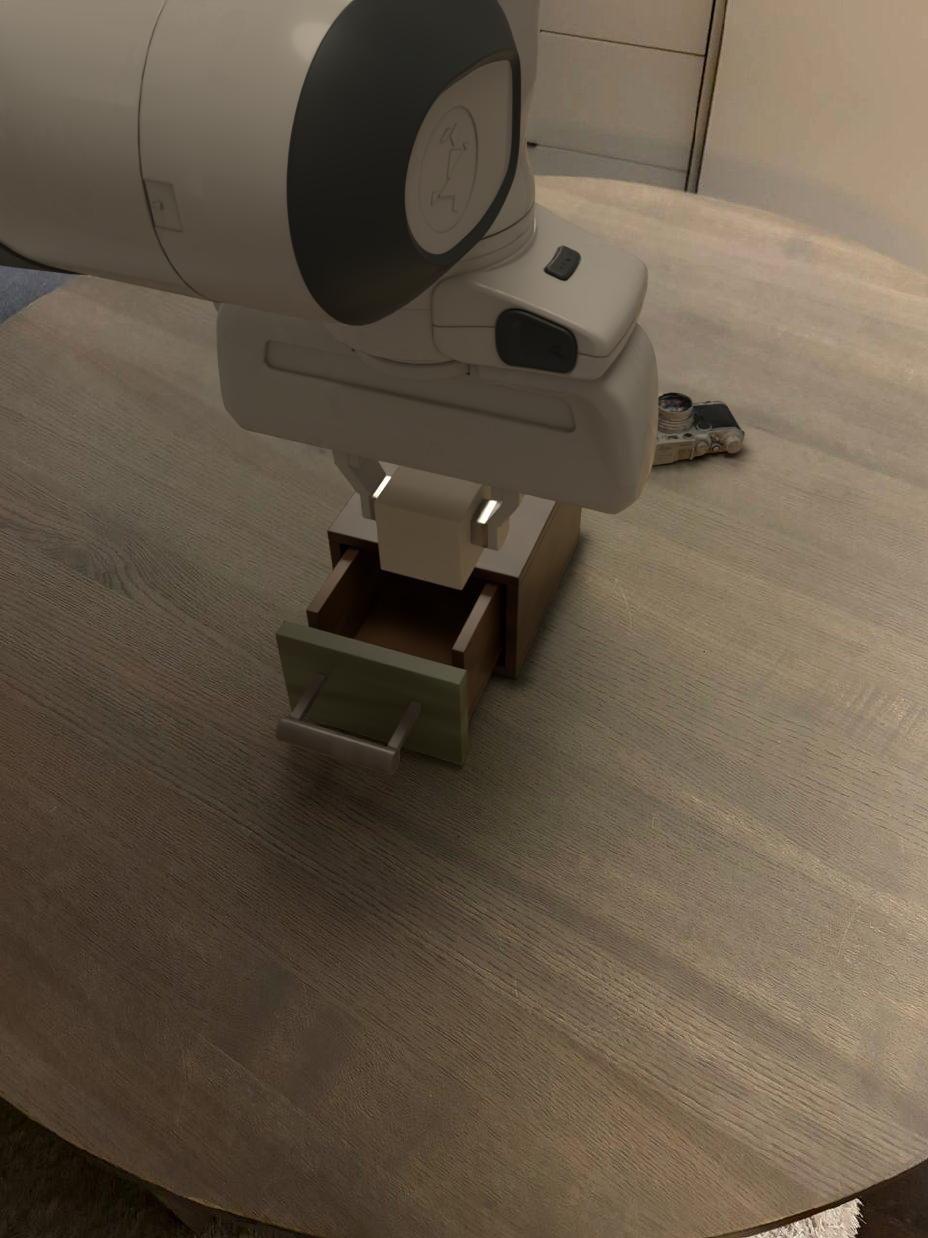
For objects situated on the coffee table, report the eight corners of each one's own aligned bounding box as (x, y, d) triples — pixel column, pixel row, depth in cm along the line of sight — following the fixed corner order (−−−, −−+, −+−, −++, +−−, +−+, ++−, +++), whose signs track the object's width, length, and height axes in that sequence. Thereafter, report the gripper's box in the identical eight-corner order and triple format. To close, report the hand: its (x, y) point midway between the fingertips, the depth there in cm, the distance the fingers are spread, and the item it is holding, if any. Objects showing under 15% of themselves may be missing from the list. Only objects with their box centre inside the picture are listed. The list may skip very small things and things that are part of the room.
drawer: (431, 831, 59) (425, 753, 54) (253, 774, 62) (231, 695, 57) (532, 613, 71) (536, 532, 66) (379, 574, 74) (371, 493, 69)
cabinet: (515, 679, 68) (519, 578, 62) (341, 631, 71) (326, 530, 65) (579, 540, 78) (587, 439, 71) (422, 503, 81) (416, 404, 74)
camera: (748, 457, 84) (758, 413, 81) (623, 469, 83) (628, 426, 80) (729, 420, 88) (737, 377, 85) (608, 432, 87) (612, 389, 84)
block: (461, 591, 51) (460, 522, 48) (380, 569, 52) (373, 502, 49) (492, 535, 54) (493, 467, 51) (414, 516, 55) (410, 448, 52)
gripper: (159, 261, 43) (222, 519, 53) (648, 352, 37) (615, 620, 47) (236, 196, 47) (281, 447, 57) (688, 270, 41) (650, 533, 51)
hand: (436, 527), depth 52 cm, fingers closed on block, 4 cm apart
